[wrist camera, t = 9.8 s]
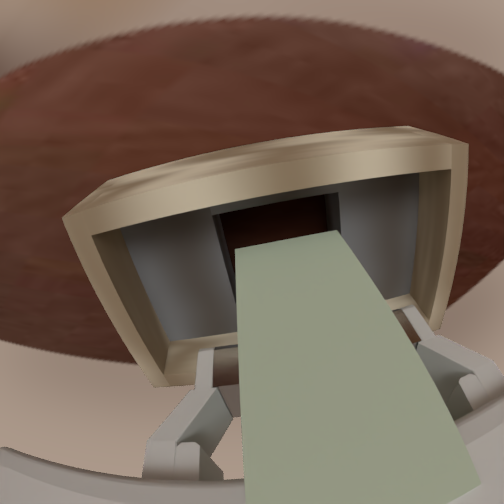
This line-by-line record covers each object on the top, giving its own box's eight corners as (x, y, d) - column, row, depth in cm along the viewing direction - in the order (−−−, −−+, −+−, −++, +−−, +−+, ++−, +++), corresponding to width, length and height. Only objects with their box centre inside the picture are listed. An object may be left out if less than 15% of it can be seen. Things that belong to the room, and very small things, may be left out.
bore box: (166, 326, 19) (153, 387, 14) (108, 180, 14) (61, 217, 9) (403, 279, 18) (440, 328, 14) (407, 126, 13) (468, 143, 9)
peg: (253, 325, 13) (277, 555, 5) (235, 249, 11) (249, 555, 3) (339, 308, 13) (418, 518, 4) (336, 229, 11) (481, 483, 3)
